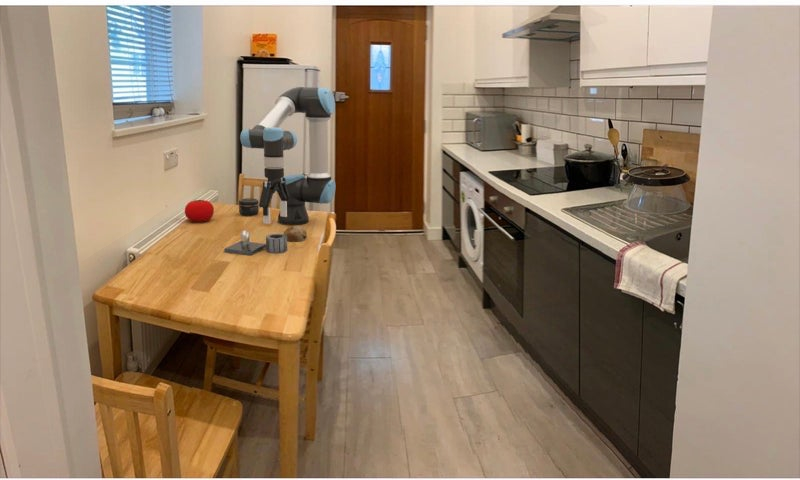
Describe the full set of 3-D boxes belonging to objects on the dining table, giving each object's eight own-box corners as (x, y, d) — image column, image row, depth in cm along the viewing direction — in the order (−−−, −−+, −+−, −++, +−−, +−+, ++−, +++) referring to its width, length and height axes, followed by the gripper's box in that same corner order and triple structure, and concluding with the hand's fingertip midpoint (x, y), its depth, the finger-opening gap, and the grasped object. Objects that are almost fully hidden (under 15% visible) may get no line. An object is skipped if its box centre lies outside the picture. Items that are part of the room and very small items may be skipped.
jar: (235, 214, 282) (234, 199, 280) (251, 211, 289) (251, 197, 287) (246, 217, 276) (245, 202, 273) (263, 214, 283) (262, 200, 281)
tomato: (202, 225, 258) (201, 203, 255) (179, 222, 261) (177, 201, 259) (220, 218, 271) (219, 198, 268) (198, 216, 275) (196, 196, 272)
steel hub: (272, 246, 229) (272, 232, 227) (290, 248, 226) (290, 234, 225) (262, 252, 221) (261, 237, 219) (281, 254, 219) (280, 240, 217)
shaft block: (241, 244, 230) (240, 225, 228) (266, 247, 227) (265, 228, 225) (224, 252, 219) (223, 232, 217) (250, 255, 216) (249, 235, 214)
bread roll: (297, 250, 236) (304, 235, 234) (277, 239, 237) (284, 223, 234) (305, 244, 246) (312, 229, 243) (286, 233, 246) (293, 218, 243)
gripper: (280, 163, 227) (282, 212, 232) (248, 170, 204) (250, 225, 209) (297, 164, 225) (298, 214, 230) (266, 172, 202) (268, 227, 207)
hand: (275, 219), depth 220 cm, fingers open, 13 cm apart
